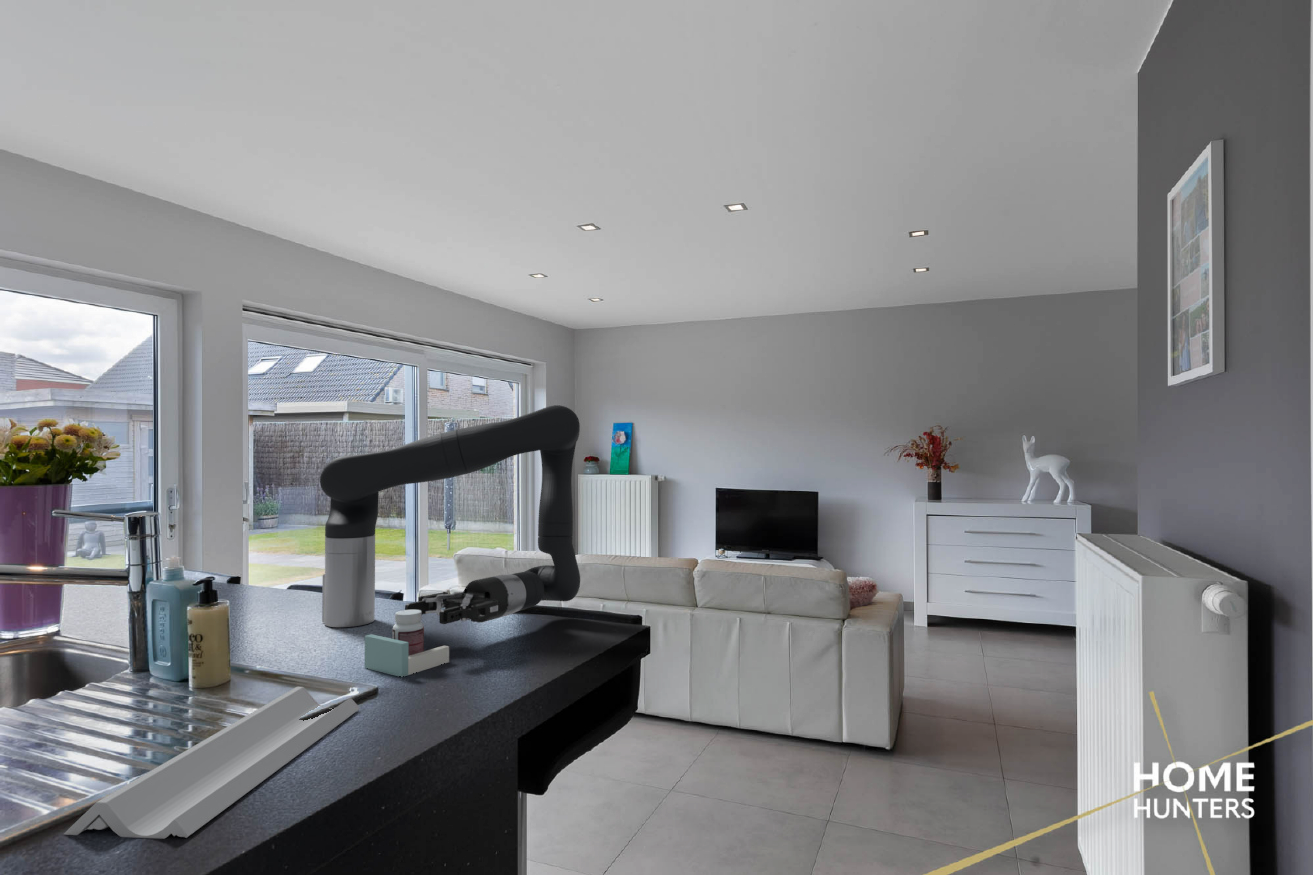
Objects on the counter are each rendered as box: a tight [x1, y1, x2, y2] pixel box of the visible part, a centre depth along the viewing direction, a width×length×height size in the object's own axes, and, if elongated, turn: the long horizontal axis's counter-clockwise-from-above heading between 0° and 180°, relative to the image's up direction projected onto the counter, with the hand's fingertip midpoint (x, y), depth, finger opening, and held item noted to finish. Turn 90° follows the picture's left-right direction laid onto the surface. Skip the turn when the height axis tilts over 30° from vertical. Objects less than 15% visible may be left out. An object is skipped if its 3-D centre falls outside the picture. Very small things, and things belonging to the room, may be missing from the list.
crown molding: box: [62, 686, 361, 839], centre depth 79 cm, size 31×12×4 cm, turn 176°
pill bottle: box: [392, 609, 425, 656], centre depth 115 cm, size 5×5×8 cm
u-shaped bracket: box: [364, 634, 450, 678], centre depth 114 cm, size 9×9×5 cm
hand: (423, 614), depth 117 cm, fingers open, 8 cm apart
